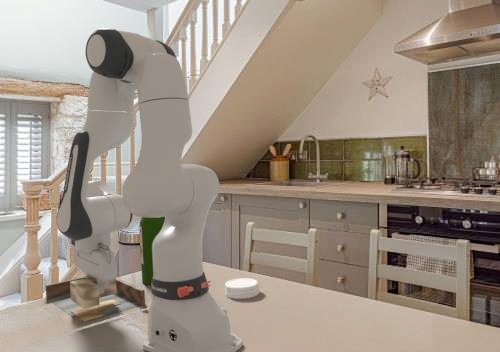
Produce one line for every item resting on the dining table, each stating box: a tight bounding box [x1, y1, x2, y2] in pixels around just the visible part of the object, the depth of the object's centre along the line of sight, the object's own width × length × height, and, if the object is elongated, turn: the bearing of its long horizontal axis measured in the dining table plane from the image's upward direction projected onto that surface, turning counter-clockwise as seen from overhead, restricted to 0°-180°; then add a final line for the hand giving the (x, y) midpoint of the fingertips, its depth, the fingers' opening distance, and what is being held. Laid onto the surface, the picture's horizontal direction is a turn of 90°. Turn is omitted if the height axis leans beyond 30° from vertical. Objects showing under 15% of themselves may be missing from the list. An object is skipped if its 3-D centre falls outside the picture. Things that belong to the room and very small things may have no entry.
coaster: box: [224, 277, 260, 300], centre depth 125 cm, size 10×10×4 cm
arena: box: [45, 276, 146, 324], centre depth 122 cm, size 27×18×5 cm, turn 42°
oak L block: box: [70, 277, 117, 309], centre depth 114 cm, size 11×9×5 cm
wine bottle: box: [138, 216, 166, 286], centre depth 138 cm, size 9×9×32 cm
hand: (95, 290), depth 117 cm, fingers closed on oak L block, 4 cm apart
